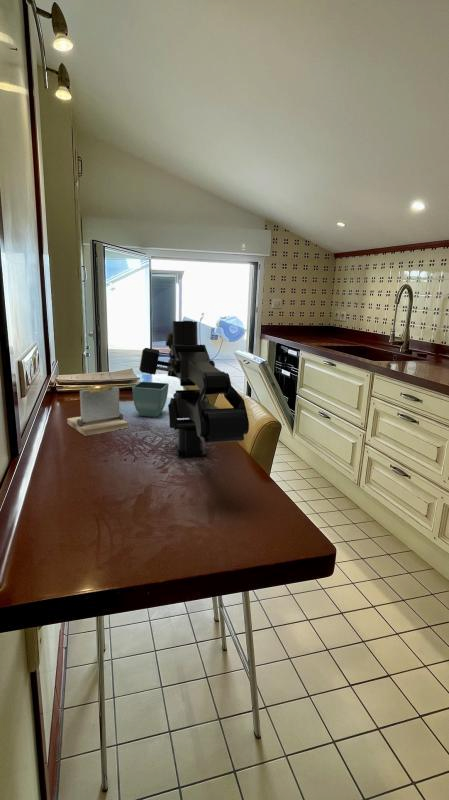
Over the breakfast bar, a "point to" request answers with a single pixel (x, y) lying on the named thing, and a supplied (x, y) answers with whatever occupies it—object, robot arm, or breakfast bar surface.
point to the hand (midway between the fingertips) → (172, 366)
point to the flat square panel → (99, 404)
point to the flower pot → (150, 398)
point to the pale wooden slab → (97, 425)
